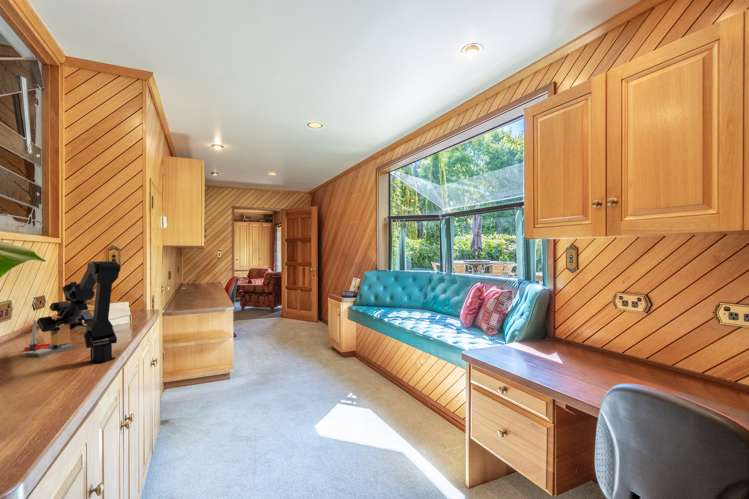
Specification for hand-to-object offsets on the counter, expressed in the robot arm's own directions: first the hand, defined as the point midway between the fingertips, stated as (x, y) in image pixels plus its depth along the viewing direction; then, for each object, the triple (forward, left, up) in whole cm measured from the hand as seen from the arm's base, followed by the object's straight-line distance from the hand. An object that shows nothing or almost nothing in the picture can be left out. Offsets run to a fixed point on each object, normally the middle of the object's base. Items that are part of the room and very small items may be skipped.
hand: (58, 333), depth 153 cm
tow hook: (+10, 0, -7) cm, 12 cm away
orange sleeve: (-1, 0, -4) cm, 5 cm away
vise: (-1, +4, -7) cm, 8 cm away
